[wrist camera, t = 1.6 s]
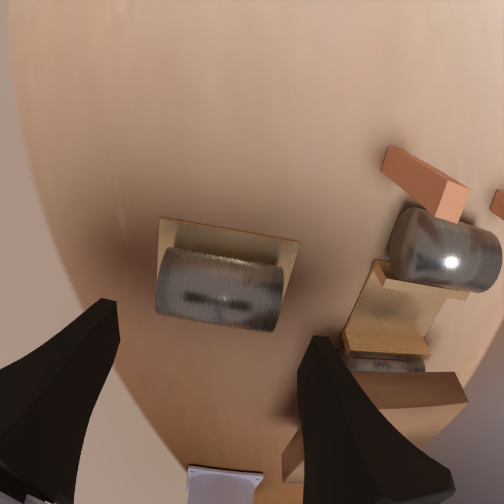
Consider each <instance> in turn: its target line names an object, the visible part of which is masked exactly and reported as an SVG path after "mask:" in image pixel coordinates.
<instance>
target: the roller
mask: <svg viewBox="0 0 504 504" xmlns="http://www.w3.org/2000/svg"><path fill="white" fill-rule="evenodd" d="M283 287H284V271H283V268H282V267H281V266H275V265H269V264H264V263H258V262H252V261H246V260H241V259H235V258H229V257H224V256H218V255H212V254H207V253H201V252H196V251H190V250H184V249H179V248H173V247H168V248H167V249H166V251H165V253H164V256H163V259H162V262H161V265H160V269H159V274H158V279H157V285H156V294H155V309H156V313H157V314H161V315H166V316H171V317H176V318H181V319H187V320H192V321H197V322H203V323H209V324H214V325H220V326H226V327H232V328H239V329H245V330H251V331H258V332H265V333H272V332H273V330H274V328H275V326H276V323H277V320H278V317H279V313H280V308H281V303H282V296H283Z"/></svg>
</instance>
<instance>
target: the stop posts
mask: <svg viewBox="0 0 504 504" xmlns="http://www.w3.org/2000/svg"><path fill="white" fill-rule="evenodd" d="M381 172H382V173H384V174H385V175H386V176H387V177H389V178H390V179H391V180H392V181H394V182H395V183H396V184H397V185H398V186H400V187H401V188H402V189H403V190H405V191H406V192H407V193H408V194H409V195H410V196H412V197H413V198H414V199H415V200H416V201H417V202H419V203H420V204H421V205H422V206H423V207H424V208H426V209H427V210H428V211H429V212H430V213H431V214H432V215H433V216H434V217H437V218H441V219H444V220H447V221H450V222H453V223H456V224H457V223H458V221H459V219H460V216H461V214H462V211H463V208H464V206H465V203H466V201H467V198H468V195H469V192H470V189H469V188H467V187H466V186H464V185H463V184H461V183H459V182H458V181H456V180H455V179H453V178H451V177H450V176H448V175H446V174H445V173H443V172H441V171H440V170H438V169H436V168H435V167H433V166H431V165H429V164H428V163H426V162H424V161H422V160H420V159H419V158H417V157H415V156H413V155H411V154H410V153H408V152H405V151H402V150H399V149H396V148H393V147H390V146H388V149H387V153H386V156H385V159H384V163H383V166H382V169H381ZM490 210H491V211H492V212H493V213H495V214H496V215H497V216H499V217H500V218H501V219H503V220H504V193H503V192H501V191H499V190H497V192H496V194H495V197H494V200H493V202H492V205H491V208H490Z"/></svg>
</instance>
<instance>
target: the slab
mask: <svg viewBox="0 0 504 504" xmlns="http://www.w3.org/2000/svg"><path fill="white" fill-rule="evenodd" d="M350 372H351V373H352V375H353V376H354V378H355V379H356V381H357V382H358V384H359V385H360V386H361V388H362V389H363V391H364V392H365V393H366V395H367V396H368V397H369V398H370V400H371V401H372V402H373V404H374V405H375V406H376V407H377V409H378V410H379V411H380V412H381V413H382V414H383V415H384V416H385V418H386V419H387V420H388V421H389V422H390V423H391V424H392V425H393V426H394V427H395V428H396V429H397V430H398V431H399V432H400V433H401V434H402V435H403V436H404V437H406V438H407V439H408V440H409V441H410V442H411V443H412V444H414V445H415V446H416V447H417V448H419V449H421V448H423V447H424V446H425V445H426V444H427V443H428V442H429V441H430V440H432V439H433V438H434V437H435V436H436V435H437V434H438V433H439V432H440V431H441V430H442V429H443V428H444V427H445V426H446V425H447V424H448V423H449V422H451V421H452V420H453V419H454V417H456V415H457V414H458V413H459V412H460V411H461V410H462V409H463V408H464V407H465V406H466V405H467V404H468V403H469V401H468V399H467V397H466V395H465V393H464V391H463V388H462V386H461V384H460V382H459V380H458V378H457V376H456V374H455V372H379V371H357V370H350ZM282 479H283V483H304V444H303V436H302V428H301V426H300V428H299V429H298V431H297V432H296V434H295V435H294V437H293V438H292V440H291V441H290V443H289V444H288V446H287V447H286V449H285V450H284V451H283V453H282Z"/></svg>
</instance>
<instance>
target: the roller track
mask: <svg viewBox="0 0 504 504" xmlns="http://www.w3.org/2000/svg"><path fill="white" fill-rule="evenodd" d="M299 246H300V242H298V241H292V240H287V239H282V238H276V237H271V236H265V235H260V234H254V233H249V232H243V231H238V230H232V229H227V228H221V227H215V226H210V225H204V224H198V223H192V222H187V221H181V220H175V219H169V218H163V217H161V218H160V224H159V241H158V260H157V279H158V274H159V269H160V265H161V262H162V259H163V256H164V253H165V251H166V249H167V248H168V247H173V248H179V249H184V250H190V251H196V252H201V253H207V254H212V255H218V256H224V257H229V258H235V259H241V260H246V261H252V262H258V263H264V264H269V265H275V266H281V267H282V268H283V271H284V287H283V296H282V302H283V298H284V295H285V292H286V289H287V286H288V282H289V279H290V276H291V273H292V269H293V266H294V263H295V259H296V256H297V253H298V249H299ZM501 265H502V249H501V245H500V242H499V240H498V238H497V237H496V236H495V235H494V234H493V233H492V232H490V231H487V230H484V229H481V228H478V227H476V226H473V225H470V224H467V223H464V222H461V221H458V223H457V224H456V223H453V222H450V221H447V220H444V219H441V218H437V217H434V216H433V215H432V214H431V213H430V212H429V211H426V210H423V209H420V208H416V207H410V208H408V209H406V210H405V211H404V212H403V213H402V214H401V215H400V216H399V218H398V220H397V222H396V224H395V226H394V229H393V231H392V235H391V239H390V246H389V262H386V261H381V260H376V259H375V262H374V264H373V267H372V269H371V271H370V274H369V276H368V278H367V281H366V283H365V285H364V288H363V290H362V292H361V294H360V297H359V299H358V301H357V303H356V305H355V307H354V310H353V312H352V314H351V316H350V318H349V320H348V322H347V324H346V327H345V329H344V331H343V333H342V339H343V342H344V346H345V347H343V348H341V349H340V350H339V351H338V353H339V354H340V356H341V358H342V359H343V361H344V362H345V364H346V365H347V367H348V369H349V370H357V371H379V372H425V365H424V362H423V360H428V359H429V357H430V356H431V353H430V351H429V349H428V347H427V345H426V343H425V341H424V339H423V337H424V336H425V334H426V332H427V331H428V329H429V327H430V326H431V324H432V323H433V321H434V319H435V318H436V316H437V314H438V312H439V311H440V309H441V307H442V306H443V304H444V302H445V300H446V298H453V299H459V300H466V299H467V297H468V295H469V294H470V292H475V293H482V292H485V291H486V290H488V289H489V288H490V287H491V286H492V285H493V284H494V283H495V281H496V279H497V278H498V275H499V273H500V270H501ZM281 305H282V303H281ZM300 426H301V420H299V423H298V427H297V431H298V429H299V428H300Z"/></svg>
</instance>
